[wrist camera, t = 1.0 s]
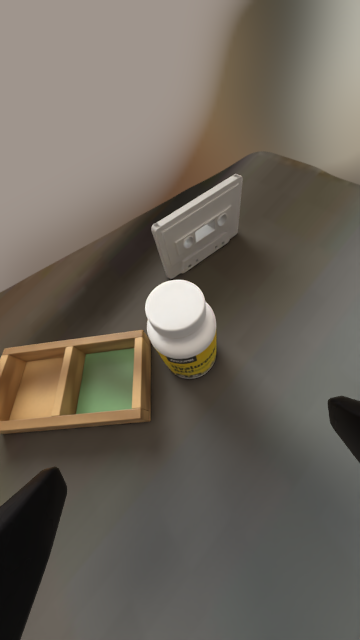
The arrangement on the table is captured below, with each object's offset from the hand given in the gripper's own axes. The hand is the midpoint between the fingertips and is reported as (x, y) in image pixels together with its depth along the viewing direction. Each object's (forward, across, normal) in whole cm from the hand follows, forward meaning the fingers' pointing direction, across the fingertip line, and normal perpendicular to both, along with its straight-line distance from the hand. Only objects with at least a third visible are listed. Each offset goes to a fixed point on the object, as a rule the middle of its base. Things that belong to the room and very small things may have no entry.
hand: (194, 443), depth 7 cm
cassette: (+24, -6, -7) cm, 26 cm away
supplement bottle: (+15, 0, +3) cm, 16 cm away
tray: (+15, +12, +3) cm, 19 cm away
